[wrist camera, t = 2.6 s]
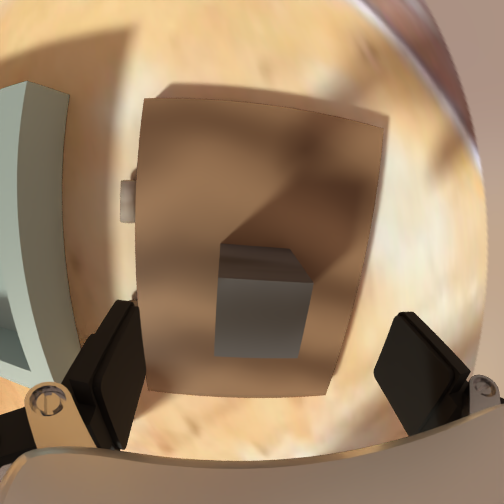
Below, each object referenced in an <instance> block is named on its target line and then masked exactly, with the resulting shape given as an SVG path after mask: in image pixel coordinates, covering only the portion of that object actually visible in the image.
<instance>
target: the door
mask: <svg viewBox="0 0 504 504" xmlns="http://www.w3.org/2000/svg"><path fill="white" fill-rule="evenodd" d="M383 131H384V129H383V128H380V127H376V126H372V125H369V124H365V123H361V122H357V121H353V120H349V119H344V118H340V117H336V116H331V115H326V114H321V113H316V112H311V111H305V110H299V109H293V108H287V107H280V106H273V105H266V104H258V103H248V102H238V101H227V100H212V99H189V98H144V103H143V111H142V119H141V128H140V138H139V150H138V163H137V180H123V181H121V193H120V222H123V223H135V254H136V281H137V298H138V301H137V300H130V301H132V302H133V303H134V306H138V307H139V310H140V320H141V330H142V339H143V347H144V355H145V362H146V379H147V386H148V390H151V391H158V392H167V393H176V394H186V395H198V396H213V397H237V398H281V397H305V396H320V395H326V392H327V389H328V386H329V384H330V381H331V378H332V375H333V372H334V369H335V366H336V363H337V360H338V357H339V354H340V350H341V347H342V344H343V341H344V337H345V334H346V330H347V327H348V323H349V320H350V316H351V312H352V309H353V305H354V301H355V297H356V293H357V289H358V285H359V281H360V277H361V272H362V268H363V263H364V259H365V254H366V249H367V244H368V239H369V234H370V229H371V223H372V217H373V211H374V205H375V199H376V192H377V185H378V178H379V170H380V161H381V152H382V142H383Z"/></svg>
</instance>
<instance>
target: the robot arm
mask: <svg viewBox="0 0 504 504" xmlns="http://www.w3.org/2000/svg"><path fill="white" fill-rule="evenodd" d="M470 372H471V371H470V370H469V369H468V368H467V366H466V365H465V364H464V363H463V362H462V361H461V360H460V359H459V358H458V357H457V356H456V355H455V354H454V353H453V351H452V350H451V349H450V348H449V347H448V346H447V345H446V344H445V343H444V342H443V341H442V340H441V339H440V338H439V337H438V336H437V335H436V334H435V333H434V332H433V331H432V330H431V329H430V328H429V327H428V326H427V325H426V324H425V323H424V322H423V321H422V320H421V319H420V318H419V317H418V316H417V315H416V314H415V313H414V312H400V313H399V314H398V315H397V316H396V317H395V318H394V320H393V322H392V325H391V328H390V331H389V333H388V336H387V339H386V341H385V344H384V346H383V349H382V351H381V354H380V356H379V359H378V361H377V363H376V366H375V368H374V377H375V379H376V380H377V382H378V384H379V385H380V387H381V389H382V391H383V392H384V394H385V396H386V397H387V399H388V401H389V402H390V404H391V406H392V408H393V409H394V411H395V413H396V415H397V416H398V418H399V420H400V422H401V423H402V425H403V427H404V429H405V430H406V432H407V434H408V435H409V437H405V438H402V439H398V440H395V441H391V442H387V443H383V444H379V445H375V446H370V447H366V448H361V449H356V450H351V451H345V452H340V453H334V454H327V455H320V456H312V457H303V458H293V459H281V460H263V461H214V460H195V459H181V458H170V457H161V456H153V455H146V454H139V453H131V452H124V451H120V449H123V450H125V448H126V446H127V442H128V438H129V434H130V430H131V426H132V422H133V419H134V415H135V411H136V408H137V404H138V400H139V397H140V393H141V390H142V386H143V383H144V380H145V376H146V362H145V355H144V347H143V339H142V330H141V320H140V310H139V307H138V306H134V303H133V302H132V301H124V300H116V302H115V303H114V305H113V306H112V308H111V309H110V311H109V312H108V314H107V315H106V317H105V318H104V320H103V322H102V323H101V325H100V326H99V328H98V330H97V331H96V333H95V334H91V335H90V336H89V337H88V339H87V340H86V342H85V344H84V345H83V347H82V348H81V350H80V352H79V353H78V355H77V357H76V358H75V360H74V362H73V363H72V365H71V367H70V368H69V370H68V372H67V374H66V375H65V377H64V379H63V381H62V382H61V384H59V383H56V382H42V383H40V384H37V385H35V386H34V387H32V388H31V389H30V390H29V391H28V393H27V394H26V397H25V407H23V408H20V409H17V410H14V411H11V412H8V413H5V414H2V415H0V504H504V399H503V398H501V397H500V394H499V389H498V387H497V385H496V384H495V382H493V381H492V380H491V379H490V378H488V377H486V376H483V375H474V376H472V377H471V379H470V380H469V382H467V380H466V379H467V377H468V375H469V373H470Z"/></svg>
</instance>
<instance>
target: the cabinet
mask: <svg viewBox="0 0 504 504" xmlns="http://www.w3.org/2000/svg"><path fill="white" fill-rule="evenodd" d="M69 96H70V95H68V94H66V93H63V92H60V91H57V90H54V89H51V88H48V87H45V86H42V85H39V84H36V83H33V82H29V81H25V82H21V83H18V84H15V85H11V86H8V87H5V88H2V89H0V377H3V378H5V379H8V380H10V381H12V382H15V383H18V384H20V385H23V386H25V387H28V388H32V387H34V386H35V385H37V384H40V383H42V382H56V383H59V384H61V382H62V381H63V379H64V377H65V375H66V374H67V372H68V370H69V368H70V367H71V365H72V363H73V362H74V360H75V358H76V357H77V355H78V353H79V352H80V350H81V347H80V343H79V338H78V334H77V329H76V325H75V320H74V315H73V309H72V304H71V298H70V291H69V285H68V277H67V269H66V260H65V250H64V237H63V219H62V166H63V148H64V136H65V126H66V117H67V110H68V103H69Z"/></svg>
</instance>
